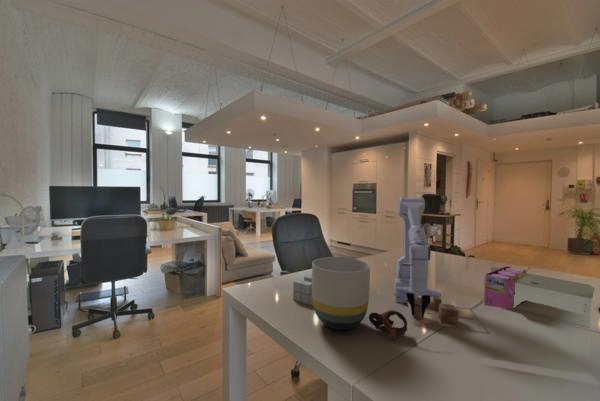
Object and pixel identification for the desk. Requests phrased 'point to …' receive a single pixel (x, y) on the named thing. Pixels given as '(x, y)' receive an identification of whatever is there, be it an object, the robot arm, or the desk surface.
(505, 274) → the gum box
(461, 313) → the back strip
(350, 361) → the desk surface
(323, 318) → the planter
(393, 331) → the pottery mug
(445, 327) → the tray board
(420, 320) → the brown angular piece
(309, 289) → the puzzle cube
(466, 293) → the desk surface
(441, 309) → the walnut block
